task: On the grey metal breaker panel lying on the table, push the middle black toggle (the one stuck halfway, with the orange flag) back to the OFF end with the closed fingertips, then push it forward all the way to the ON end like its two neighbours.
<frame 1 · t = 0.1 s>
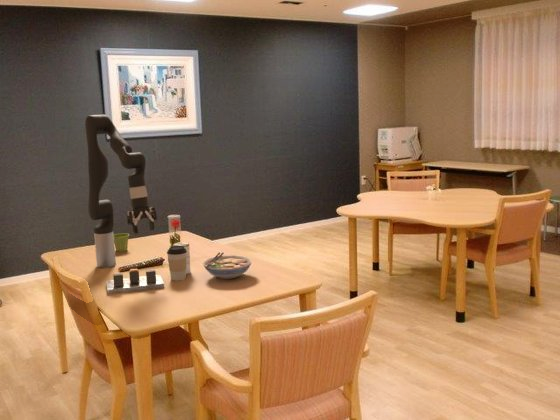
hand: (144, 231, 270), 22 cm above the table, tool pointing down, fingers open, 8 cm apart
ramen bowl: (228, 277, 274), on the table
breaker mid: (134, 275, 263), point 5 cm above the table, slide at 0.0 cm
panel: (135, 286, 264), on the table
coffee cup: (178, 278, 274), on the table, touching syrup box
plant pot: (121, 250, 328), on the table
syrup box: (182, 273, 282), on the table, touching coffee cup
breaker 2: (151, 276, 262), point 5 cm above the table, slide at 3.0 cm
breaker 1: (118, 279, 258), point 5 cm above the table, slide at 3.0 cm
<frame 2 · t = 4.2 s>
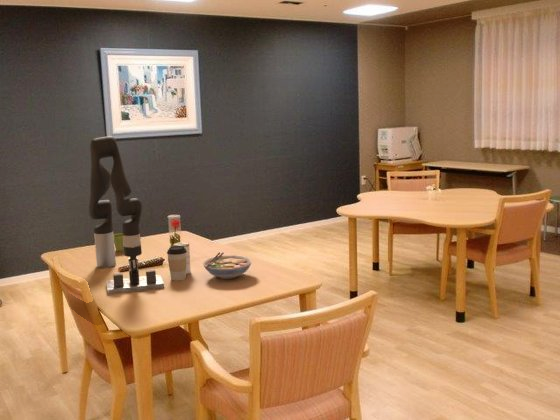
hand: (135, 282, 260), 3 cm above the table, tool pointing down, fingers closed
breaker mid: (134, 274, 264), point 5 cm above the table, slide at -1.1 cm, touching gripper, hand
everything else where it was.
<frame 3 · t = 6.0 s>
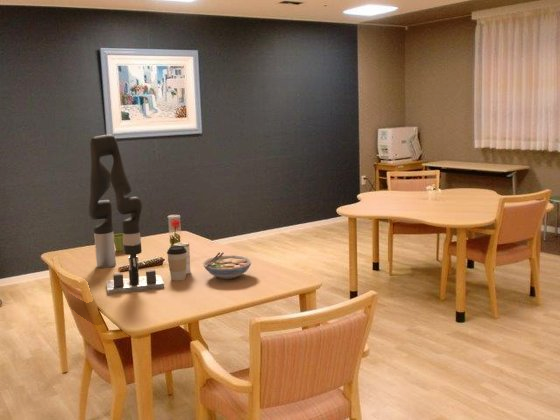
hand: (135, 280, 261), 3 cm above the table, tool pointing down, fingers closed
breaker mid: (133, 273, 265), point 5 cm above the table, slide at -3.1 cm
everything else where it was.
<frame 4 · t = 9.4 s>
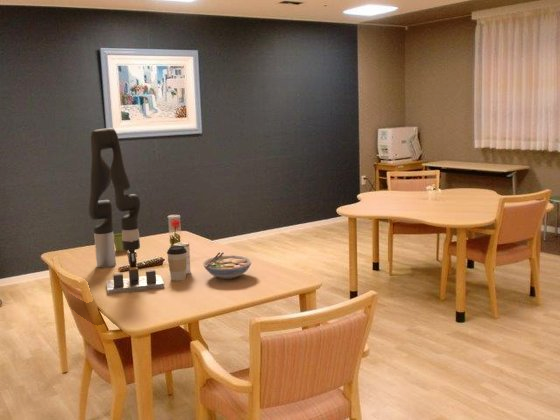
hand: (133, 275, 269), 3 cm above the table, tool pointing down, fingers closed
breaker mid: (133, 273, 265), point 5 cm above the table, slide at -2.9 cm, touching gripper
everything else where it was.
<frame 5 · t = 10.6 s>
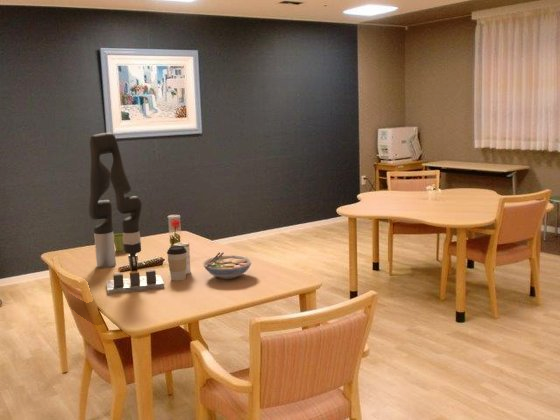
hand: (134, 279, 264), 3 cm above the table, tool pointing down, fingers closed
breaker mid: (134, 277, 260), point 5 cm above the table, slide at 3.1 cm, touching gripper, hand
everything else where it was.
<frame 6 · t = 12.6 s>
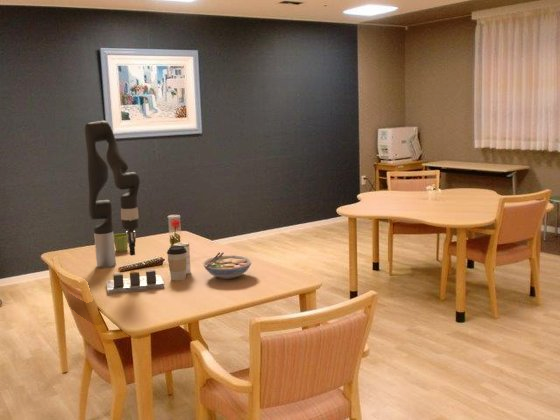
hand: (132, 254, 266), 13 cm above the table, tool pointing down, fingers closed
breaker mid: (134, 277, 260), point 5 cm above the table, slide at 3.1 cm
everything else where it was.
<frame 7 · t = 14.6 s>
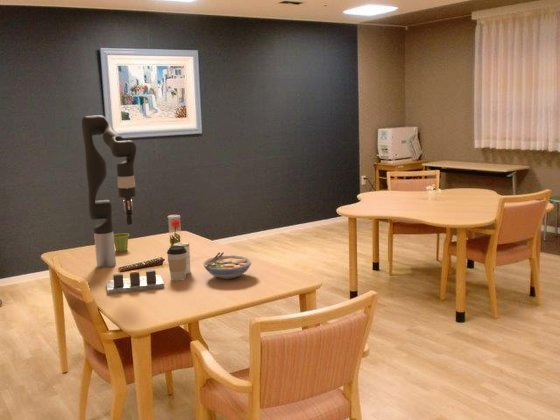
hand: (129, 224, 265), 27 cm above the table, tool pointing down, fingers closed
nothing on the table moved.
at the end: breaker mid slide at 3.1 cm; breaker 1 slide at 3.0 cm; breaker 2 slide at 3.0 cm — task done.
